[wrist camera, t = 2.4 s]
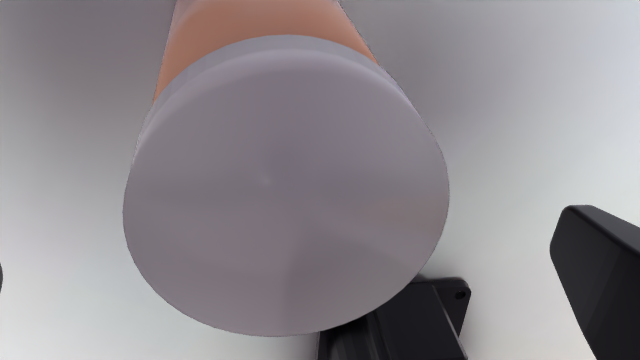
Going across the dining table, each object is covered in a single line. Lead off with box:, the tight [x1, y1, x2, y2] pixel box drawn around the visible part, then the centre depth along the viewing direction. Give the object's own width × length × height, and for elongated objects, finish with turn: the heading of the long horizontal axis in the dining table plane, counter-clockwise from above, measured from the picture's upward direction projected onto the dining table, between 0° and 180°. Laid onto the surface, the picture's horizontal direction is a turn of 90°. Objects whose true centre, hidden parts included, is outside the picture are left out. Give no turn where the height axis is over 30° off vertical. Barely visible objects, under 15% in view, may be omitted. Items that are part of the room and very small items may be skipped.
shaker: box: [123, 0, 449, 337], centre depth 13 cm, size 5×5×10 cm
